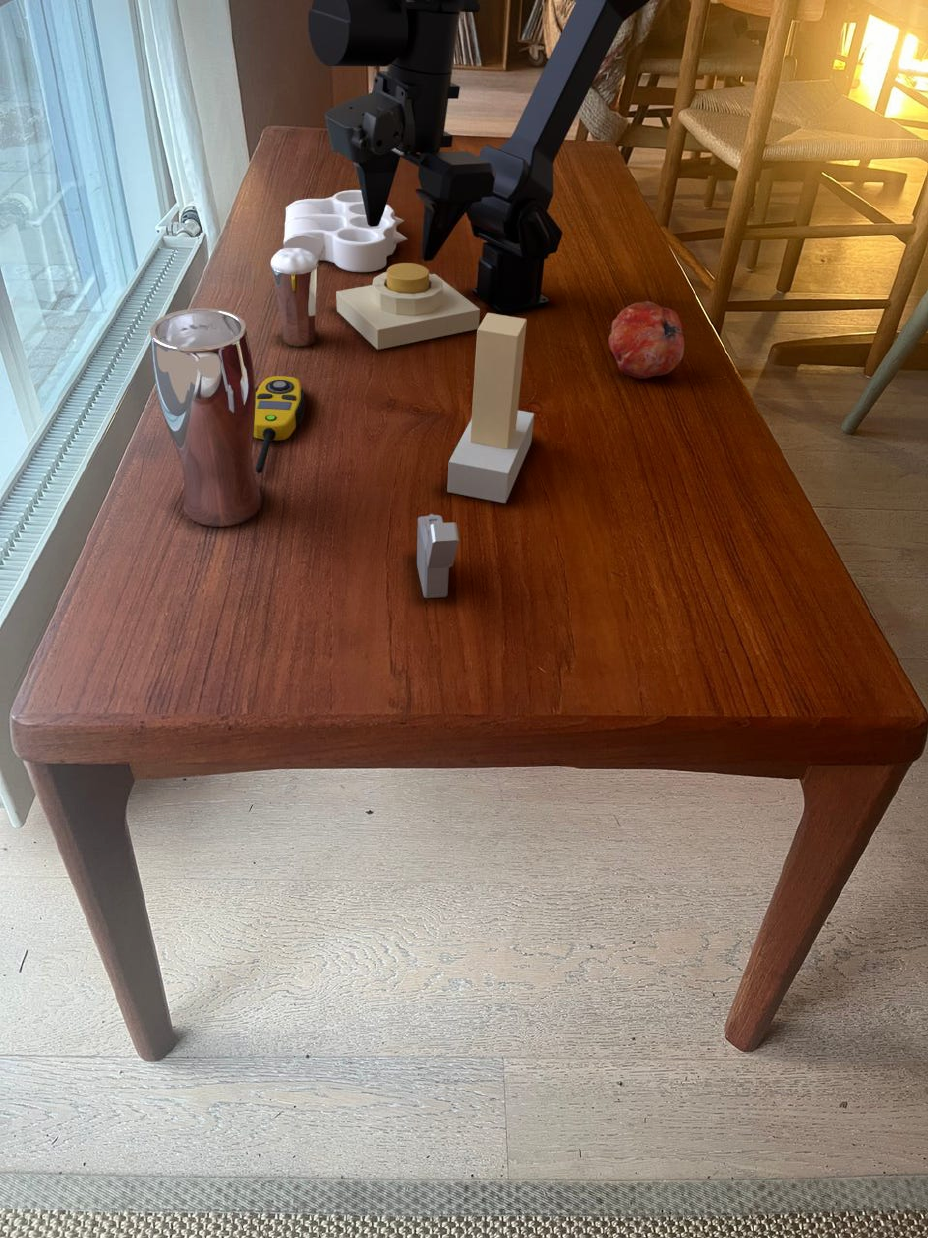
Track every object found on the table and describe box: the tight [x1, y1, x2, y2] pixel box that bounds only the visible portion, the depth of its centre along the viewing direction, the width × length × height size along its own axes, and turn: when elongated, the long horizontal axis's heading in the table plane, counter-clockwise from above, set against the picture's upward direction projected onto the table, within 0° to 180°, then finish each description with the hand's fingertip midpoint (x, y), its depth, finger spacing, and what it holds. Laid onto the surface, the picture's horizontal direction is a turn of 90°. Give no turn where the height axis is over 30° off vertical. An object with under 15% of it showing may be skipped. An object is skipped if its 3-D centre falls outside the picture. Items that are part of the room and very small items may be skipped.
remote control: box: [253, 375, 306, 474], centre depth 86 cm, size 5×2×15 cm
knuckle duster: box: [283, 189, 408, 273], centre depth 119 cm, size 3×18×15 cm
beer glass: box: [149, 307, 263, 528], centre depth 73 cm, size 7×7×15 cm
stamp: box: [446, 312, 535, 504], centre depth 80 cm, size 5×10×13 cm, turn 165°
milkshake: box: [270, 246, 324, 348], centre depth 96 cm, size 4×5×10 cm
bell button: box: [386, 262, 430, 294], centre depth 102 cm, size 4×4×2 cm
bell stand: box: [335, 271, 481, 351], centre depth 103 cm, size 12×10×4 cm
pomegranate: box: [608, 300, 685, 380], centre depth 96 cm, size 7×7×10 cm
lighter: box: [416, 513, 460, 599], centre depth 69 cm, size 7×2×8 cm, turn 10°
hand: (399, 242), depth 96 cm, fingers open, 9 cm apart
